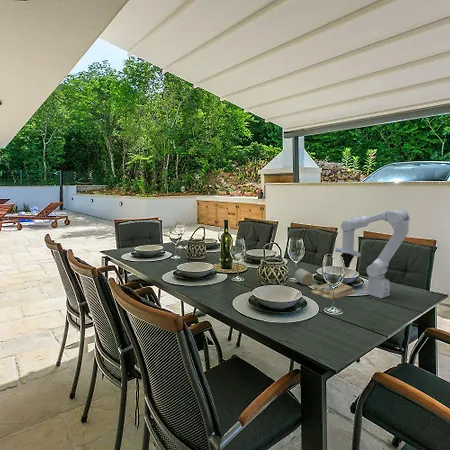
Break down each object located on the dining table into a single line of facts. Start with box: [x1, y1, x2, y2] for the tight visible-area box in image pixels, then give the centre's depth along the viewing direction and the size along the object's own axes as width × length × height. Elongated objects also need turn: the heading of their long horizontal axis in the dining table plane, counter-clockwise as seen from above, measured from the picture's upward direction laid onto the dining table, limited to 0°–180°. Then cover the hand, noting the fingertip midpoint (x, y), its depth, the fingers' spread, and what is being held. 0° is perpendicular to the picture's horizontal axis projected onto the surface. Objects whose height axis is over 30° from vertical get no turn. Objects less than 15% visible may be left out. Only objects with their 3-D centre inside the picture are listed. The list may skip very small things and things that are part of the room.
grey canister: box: [293, 268, 316, 286], centre depth 183 cm, size 11×8×8 cm
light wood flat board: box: [311, 283, 356, 301], centre depth 168 cm, size 13×18×3 cm
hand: (346, 267), depth 177 cm, fingers closed
